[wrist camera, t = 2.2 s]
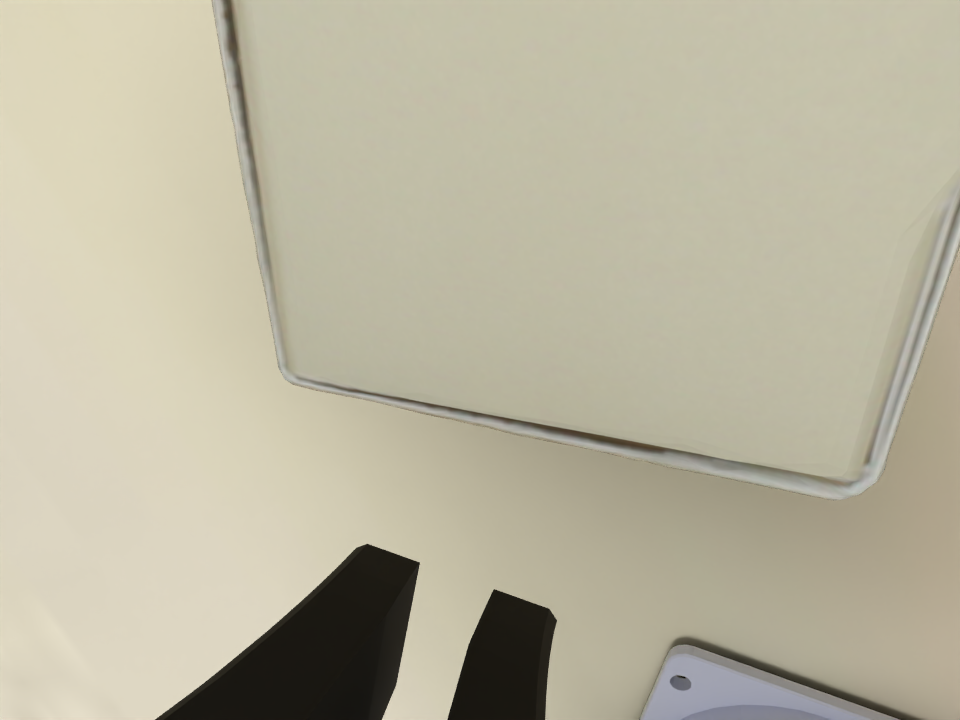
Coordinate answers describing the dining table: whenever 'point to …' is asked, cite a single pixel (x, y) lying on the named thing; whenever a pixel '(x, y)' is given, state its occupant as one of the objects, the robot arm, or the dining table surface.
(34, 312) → the dining table surface
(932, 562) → the dining table surface
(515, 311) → the skincare box
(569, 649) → the dining table surface
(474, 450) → the dining table surface
